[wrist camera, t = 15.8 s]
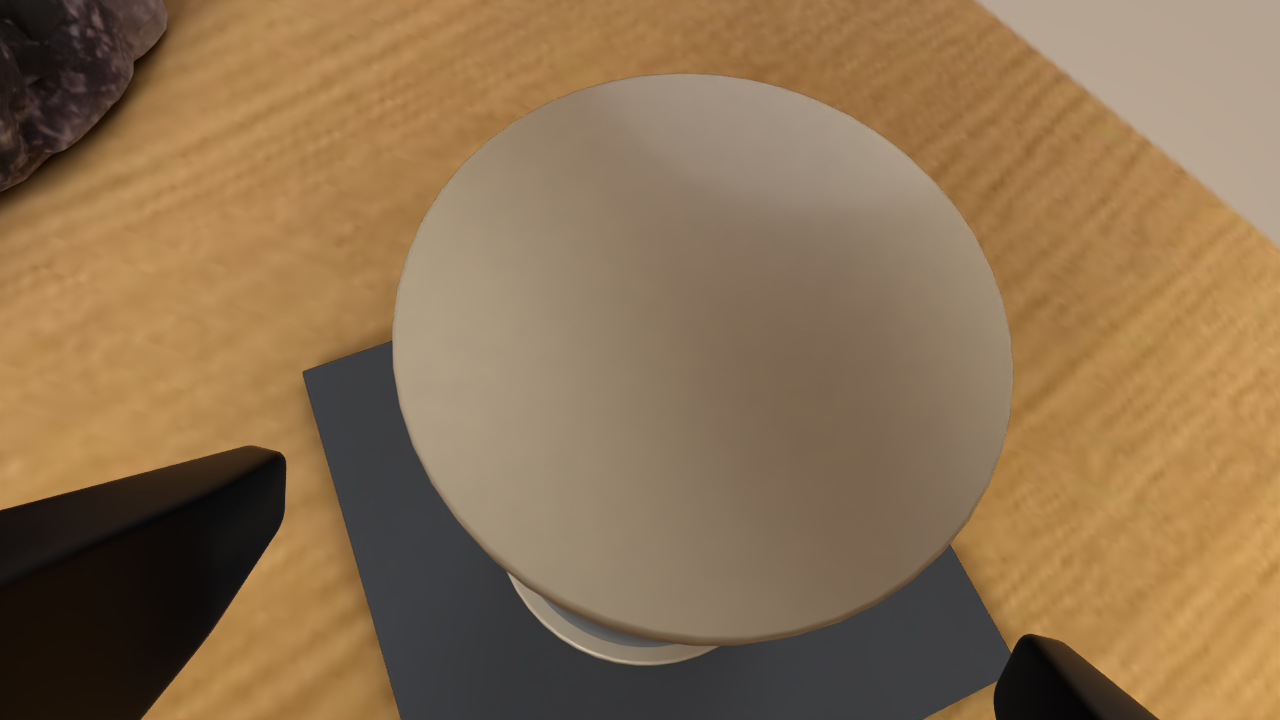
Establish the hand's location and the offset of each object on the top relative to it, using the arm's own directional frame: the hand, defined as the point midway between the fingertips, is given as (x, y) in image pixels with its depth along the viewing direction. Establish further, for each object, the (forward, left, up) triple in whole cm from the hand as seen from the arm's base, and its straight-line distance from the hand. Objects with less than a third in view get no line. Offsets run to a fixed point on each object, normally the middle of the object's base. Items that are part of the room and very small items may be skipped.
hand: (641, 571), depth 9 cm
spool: (+2, -1, -6) cm, 6 cm away
